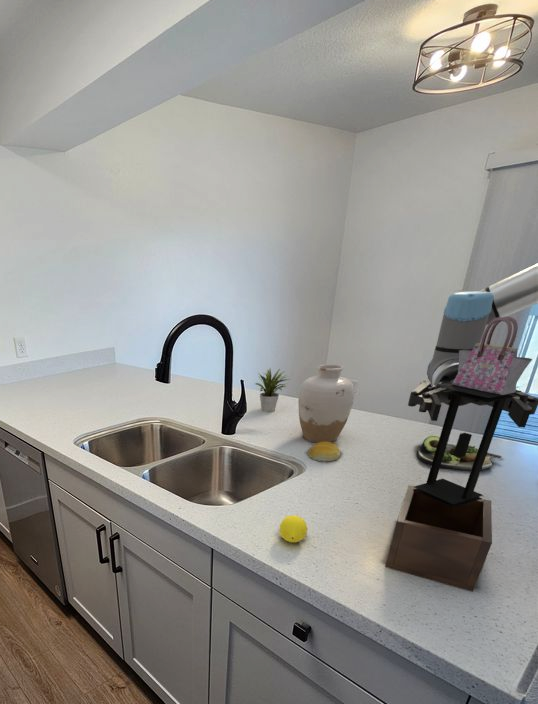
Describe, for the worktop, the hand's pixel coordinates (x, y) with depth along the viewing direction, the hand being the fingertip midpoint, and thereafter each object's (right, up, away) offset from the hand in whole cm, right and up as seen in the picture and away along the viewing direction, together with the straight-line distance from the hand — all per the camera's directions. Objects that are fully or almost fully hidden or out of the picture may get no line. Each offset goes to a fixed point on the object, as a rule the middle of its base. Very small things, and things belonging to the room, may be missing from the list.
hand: (479, 415), depth 68 cm
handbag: (+3, -13, +11) cm, 17 cm away
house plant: (-1, +20, +102) cm, 104 cm away
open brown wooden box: (+3, -24, +15) cm, 29 cm away
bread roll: (+2, -2, +60) cm, 60 cm away
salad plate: (+34, -3, +54) cm, 64 cm away
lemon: (-21, -22, +23) cm, 38 cm away
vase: (+7, +5, +73) cm, 74 cm away
